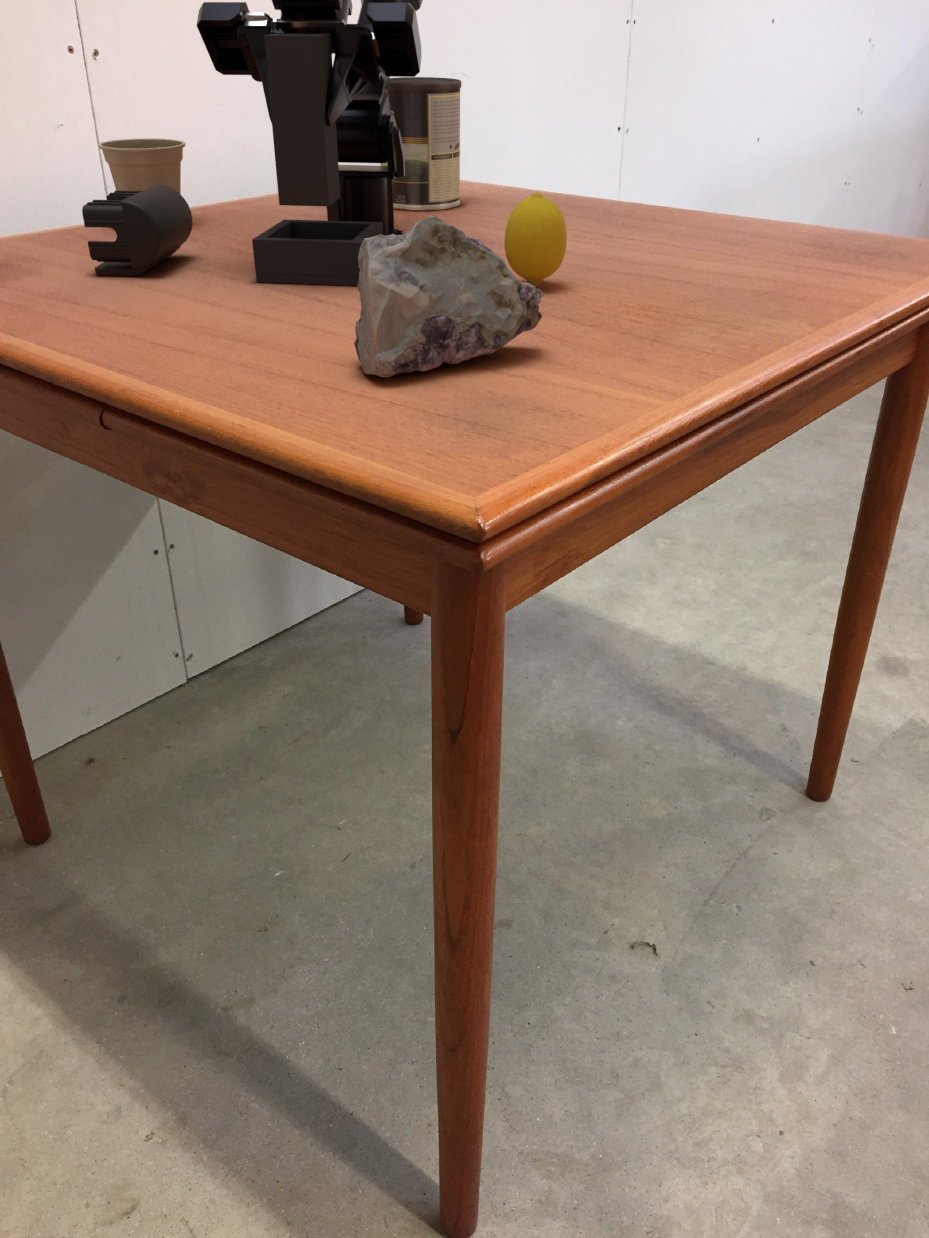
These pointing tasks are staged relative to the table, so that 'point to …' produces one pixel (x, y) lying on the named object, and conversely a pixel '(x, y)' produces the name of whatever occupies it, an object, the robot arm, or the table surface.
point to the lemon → (535, 238)
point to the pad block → (302, 118)
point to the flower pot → (144, 163)
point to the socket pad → (312, 251)
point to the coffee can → (427, 142)
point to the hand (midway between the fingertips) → (299, 122)
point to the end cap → (138, 229)
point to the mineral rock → (436, 300)
